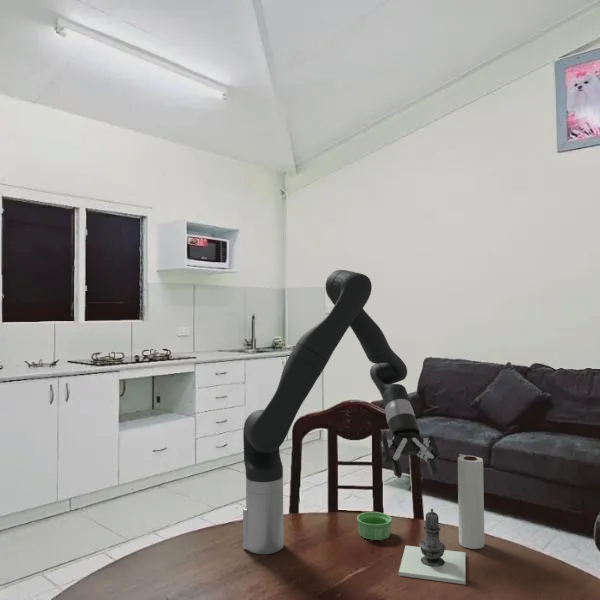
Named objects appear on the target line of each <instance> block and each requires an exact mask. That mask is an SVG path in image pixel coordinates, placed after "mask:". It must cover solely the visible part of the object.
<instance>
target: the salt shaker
mask: <svg viewBox="0 0 600 600" xmlns="http://www.w3.org/2000/svg"><path fill="white" fill-rule="evenodd" d="M439 518H440V517H439V515H438V514H437V513H436V512H434V509H433V508H431V509H430V511H429V512H427V513H425V526H424V527H423V529H424V531H425V532H424V533H425V539H424V540H423V541H420V542H419V544H418V545H419V546H418V547H421V551H422V553H423V555H424V557H422V558H421V562H422V563H423V564H425V565H427V566H431V567H439V566H442V565H444V563H445V562H444V560H443V559H442V558H440V557H442V556H443V554H444V550H446V548H447V547H446V545H445V544H444V543H443V542H441V540H440V532H441V528H440V525H439Z"/></svg>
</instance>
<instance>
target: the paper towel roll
mask: <svg viewBox="0 0 600 600" xmlns="http://www.w3.org/2000/svg"><path fill="white" fill-rule="evenodd" d="M458 455H459V456H458V457H457V485H458V486H457V493H458V494H457V495H458V498H457V500H458V502H457V504H458V505H457V507H458V509H457V510H458V543H459V545H460V546H462V547H464V548H466V549H469V550H470V549H471V550H478V549H479V550H480V549H482V548H484V547H485V501H484V500H485V498H484V493H485V492H484V490H485V489H484V487H485V486H484V460H483V458H482V457H479V456H475V455H469V454H468V455H467V454H462V453H459V454H458Z"/></svg>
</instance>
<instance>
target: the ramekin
mask: <svg viewBox="0 0 600 600" xmlns="http://www.w3.org/2000/svg"><path fill="white" fill-rule="evenodd" d="M356 520H357V527H358V534H359V536H360V537H361V536H362V537H363V538H362V537H361V538H362V539H364V538H366V539H365V540H367V539H370V540H369V541H373V540H380V541H384V540H383V539H385V540H387V539H388V538H389V537H390V535H391V526H392V517H391V515H388V514H387V513H383V512H378V511H367V512H362V513H360V514H358V515H357V516H356ZM386 538H387V539H386Z"/></svg>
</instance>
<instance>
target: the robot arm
mask: <svg viewBox="0 0 600 600" xmlns="http://www.w3.org/2000/svg"><path fill="white" fill-rule="evenodd" d="M372 286H373V285H372V281H371V279H370V278H369V277H368V276H367V275H366V274H364V273H361V272H356V271H351V270H348V269H347V270H345V269H336V270H334V271H332V272H331V273H329V275H328V276H327V278H326V281H325V292H326V295H327V297H328V298H329V300H330V301H331V303H332V304H333V305H334V306H333V308H332V309H331V310H330V312H329V313H328V314H327V316H325V317H324V318H323V319H322V320H320V322H318V323H317V324H316V325H314V326H313V327H311V328H310V329H309V330H307V331H306V332H305V333H303V335H302V336H300V338H299V339H298V340H297V342H296V344H295V345H294V347H293V349H292V350H291V352H290V353H289V356H288V357H287V360H286V362H285V364H284V367H283V370H282V372H281V375H280V379H279V382H278V386H277V388H276V391H275V392H274V394H273V396H272V397H271V399H270V401H269V403H268V404H267V405H266V407H265V408H264V409H258V410H255V411H252V412H251V413H250V414H249V415H248V416H247V418H246V419H245V421H244V424H243V433H242V434H243V437H242V438H243V439H242V440H243V462H244V470H245V507H244V509H243V510H242V549H243V550H247V551H248V552H250V553H253V554H257V555H269V554H275V553H277V552H279V551H281V550H282V549H283V548H284V465H283V462H282V458H281V453H280V447H281V446H282V445H283V443H284V441H285V440H286V439H287V436H288V433H289V431H290V429H291V427H292V424H293V423H294V420H295V418H296V416H297V414H298V412H299V410H300V408H301V406H302V405H303V403H304V401H305V400H306V398H307V397H308V395H309V394H310V392H311V390H312V389H313V387H314V385H315V384H316V382H317V380H318V379H319V378H320V376H321V374H322V373H323V371H324V370H325V368H326V366H327V364H328V363H329V360H330V359H331V357H332V355H333V353H334V351H335V350H336V348H337V346H338V345H339V343H340V342H341V340H342V338H343V337H344V336H345V334H346V332H347V331H348V330H349V328H351V330H352V331H353V334H354V335H355V336H356V339H358V342H359V344H360V346H361V348H362V349H363V351H364V353H365V355H366V358H367V359H368V361H369V362H370V363H372V364H373V365H372V366H371V368H370V369H369V375H370V379H371V380H372V382H373V383H374V385H375V387H376V388H377V390H378V392H379V393H380V395H381V398H382V401H383V405H384V409H385V418H386V423H387V424H388V425H387V426H388V429H389V434H390V436H391V439H388V438H387V437H382V440H381V442H380V447H381V453H382V458H383V459H382V460H383V463H384V464H390V465H392V470H393V474H394V477H395V476H396V477H397V479H401V478H402V476H403V471H402V467H401V464H400V461H399V459H400V457H401V455H403V457H407V456H413V457H414V456H417V457H419V459H423V460H424V461H425V462H426V466H427V469H428V473H429V477H431V478H432V477H435V475H436V473H437V466H436V462H437V461H438V460H439V458H440V455H441V453H440V451H439V449H438V446H437V443H436V440H435V438H434V436H433V435H429V436H428V437H426V438H423V437H422V435H421V433H420V429H419V425H418V422H417V418H416V415H415V412H414V409H413V406H412V404H411V402H410V398H409V395H408V390H407V388H406V387H405V386H404V385H402V384H400V382H401V381H404V380H405V379H406V378H407V376H408V367H407V365H406V363H405V362H404V361H403V360H402V358H401V357H400V356H399V355H398V354H396V352H395V351H394V350H393V349H392V347H391V346H390V345H389V343H388V341H387V338H386V336H385V334H384V332H383V331H382V329H381V327H380V326H379V325H378V324H377V322H375V320H374V319H373V318H372V317H371V316H370V315H369V314H368V313H367V311H365V309H364V307H365V306H366V304H367V302H368V300H369V299H370V296H371V294H372ZM424 444H425V446H424ZM390 447H393V448H394V449H395V450H396V451H395V453H394V454H393V455H391V454H390V453H391V452H390Z"/></svg>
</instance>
